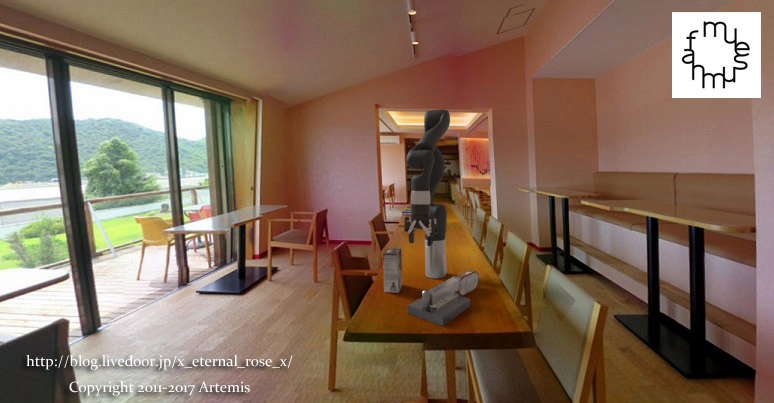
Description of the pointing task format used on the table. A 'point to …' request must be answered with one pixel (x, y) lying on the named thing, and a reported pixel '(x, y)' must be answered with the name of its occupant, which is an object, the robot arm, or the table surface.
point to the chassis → (438, 308)
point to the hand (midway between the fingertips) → (420, 244)
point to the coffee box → (392, 270)
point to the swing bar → (444, 290)
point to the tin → (468, 281)
